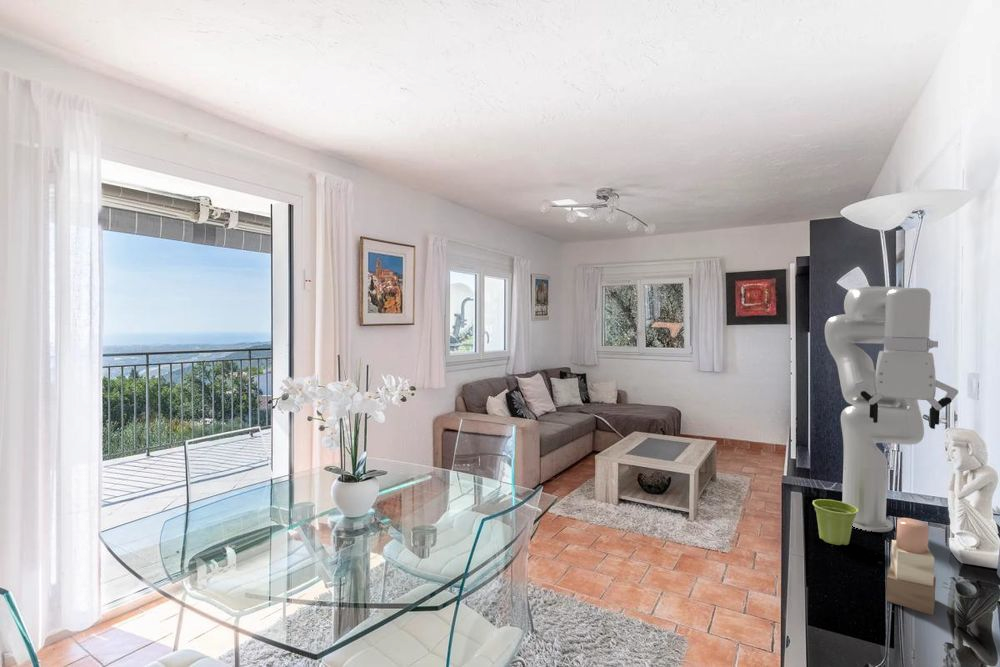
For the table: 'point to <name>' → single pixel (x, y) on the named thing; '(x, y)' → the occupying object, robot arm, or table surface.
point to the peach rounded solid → (912, 535)
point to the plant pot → (834, 520)
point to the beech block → (912, 565)
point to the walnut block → (910, 593)
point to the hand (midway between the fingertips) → (902, 424)
